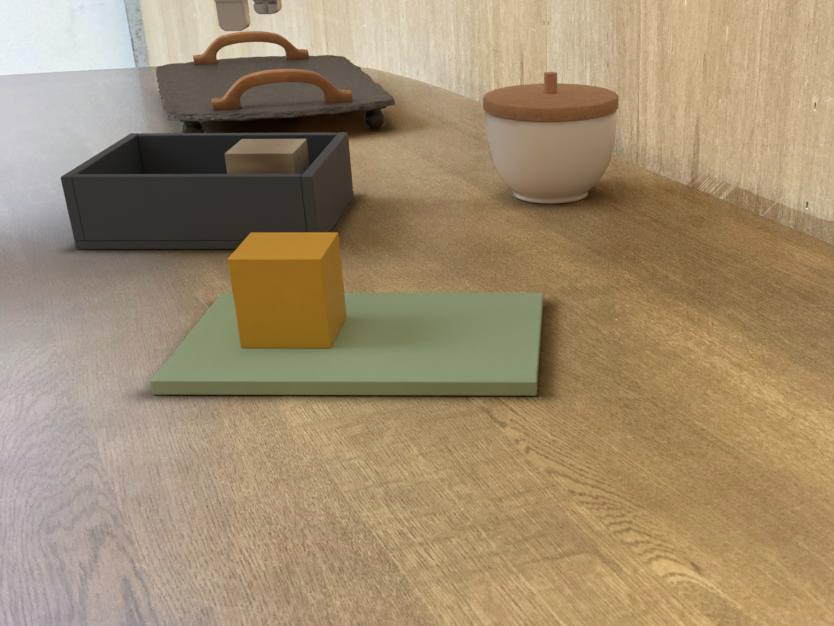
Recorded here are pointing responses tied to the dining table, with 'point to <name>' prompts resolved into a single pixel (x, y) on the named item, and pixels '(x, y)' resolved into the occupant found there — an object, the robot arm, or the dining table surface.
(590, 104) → the lidded sugar bowl
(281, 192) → the box
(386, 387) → the mat
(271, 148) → the cream block
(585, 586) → the dining table surface
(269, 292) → the mustard block
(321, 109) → the serving tray
